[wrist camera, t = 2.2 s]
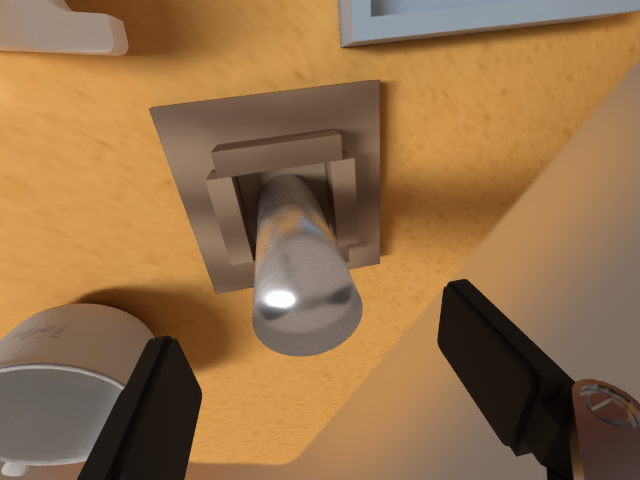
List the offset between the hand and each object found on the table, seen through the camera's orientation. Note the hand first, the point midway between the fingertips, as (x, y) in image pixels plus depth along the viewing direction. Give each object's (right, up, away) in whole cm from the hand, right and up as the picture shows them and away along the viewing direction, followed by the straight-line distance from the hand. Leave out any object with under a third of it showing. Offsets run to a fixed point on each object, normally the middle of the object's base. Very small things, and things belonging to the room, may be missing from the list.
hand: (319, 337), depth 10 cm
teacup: (-20, -6, +16) cm, 26 cm away
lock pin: (-2, +6, +11) cm, 13 cm away
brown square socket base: (-3, +7, +12) cm, 14 cm away
